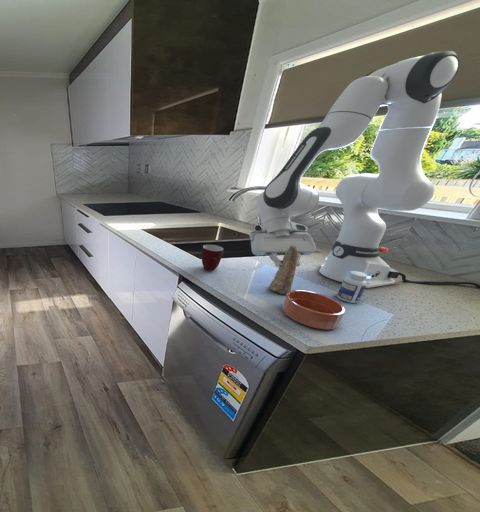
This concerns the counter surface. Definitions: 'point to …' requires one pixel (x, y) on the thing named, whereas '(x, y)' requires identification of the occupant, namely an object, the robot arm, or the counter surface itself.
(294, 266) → the brown tapered cone
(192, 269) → the counter surface
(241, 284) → the counter surface
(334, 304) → the bowl
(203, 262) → the mug
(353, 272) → the pill bottle
